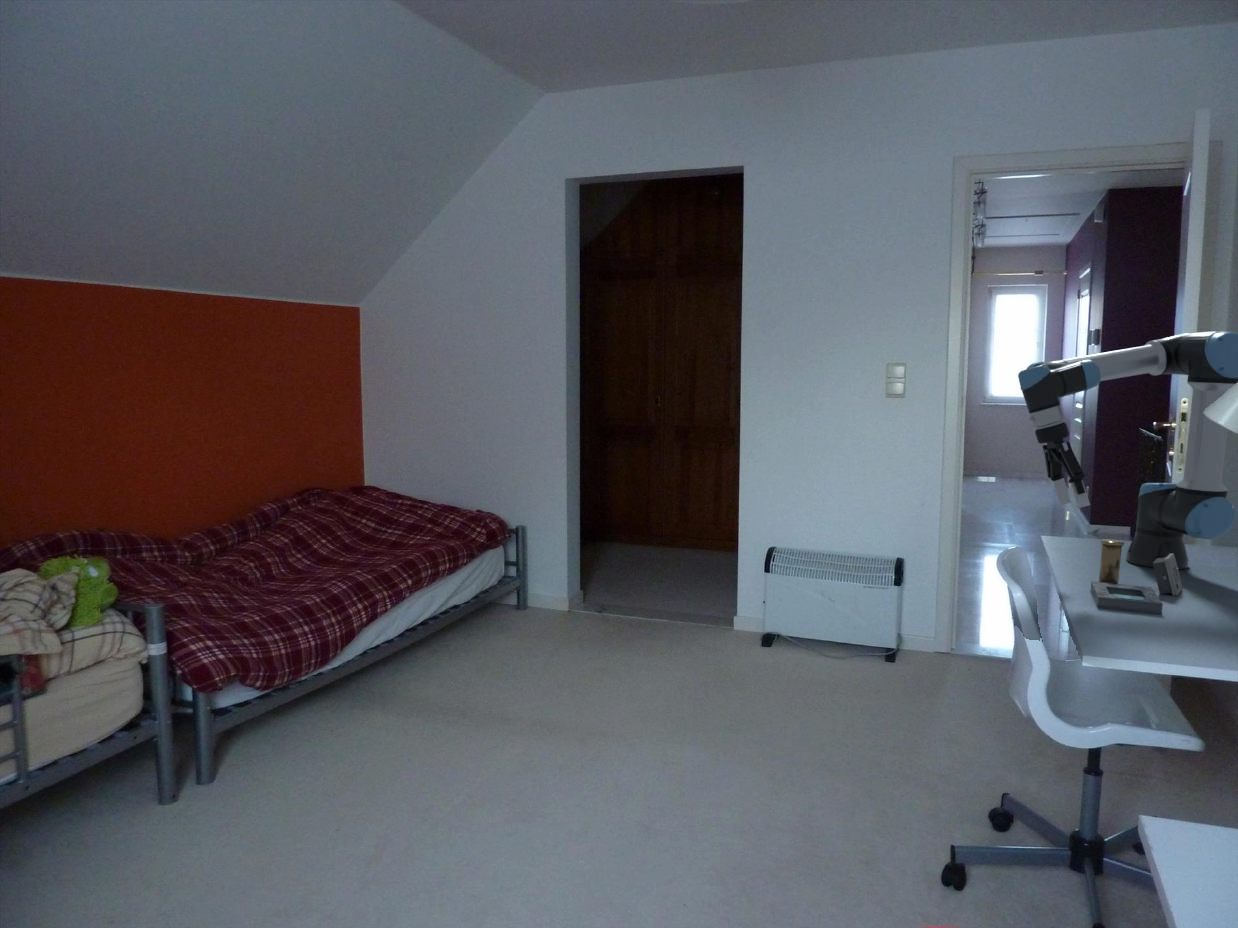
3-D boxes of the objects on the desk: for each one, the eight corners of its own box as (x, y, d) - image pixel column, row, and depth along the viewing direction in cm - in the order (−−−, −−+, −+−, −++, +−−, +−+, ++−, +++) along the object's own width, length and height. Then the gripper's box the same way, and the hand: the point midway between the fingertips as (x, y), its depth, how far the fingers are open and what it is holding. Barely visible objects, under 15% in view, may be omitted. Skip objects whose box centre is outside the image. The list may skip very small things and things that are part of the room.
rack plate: (1090, 590, 227) (1091, 580, 227) (1150, 597, 222) (1151, 586, 222) (1097, 607, 212) (1098, 595, 212) (1161, 614, 208) (1162, 602, 207)
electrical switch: (1176, 597, 223) (1176, 559, 222) (1152, 595, 226) (1151, 558, 226) (1182, 590, 230) (1182, 553, 230) (1158, 588, 234) (1158, 552, 233)
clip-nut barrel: (1106, 580, 238) (1110, 538, 237) (1124, 585, 234) (1128, 542, 232) (1092, 581, 236) (1096, 540, 235) (1110, 586, 231) (1114, 544, 230)
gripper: (1020, 431, 247) (1044, 506, 246) (1050, 428, 222) (1076, 512, 221) (1048, 422, 246) (1072, 498, 245) (1081, 418, 221) (1108, 503, 220)
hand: (1074, 505), depth 233 cm, fingers open, 13 cm apart
